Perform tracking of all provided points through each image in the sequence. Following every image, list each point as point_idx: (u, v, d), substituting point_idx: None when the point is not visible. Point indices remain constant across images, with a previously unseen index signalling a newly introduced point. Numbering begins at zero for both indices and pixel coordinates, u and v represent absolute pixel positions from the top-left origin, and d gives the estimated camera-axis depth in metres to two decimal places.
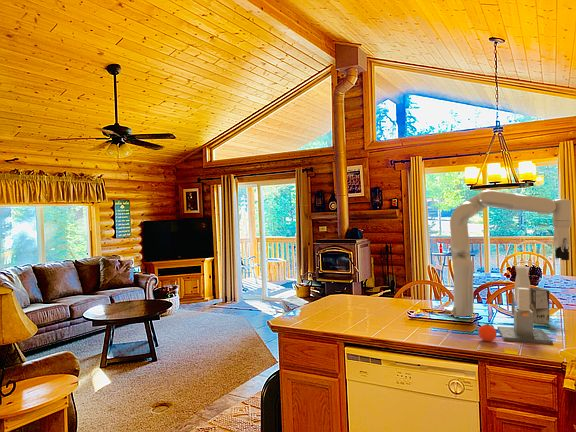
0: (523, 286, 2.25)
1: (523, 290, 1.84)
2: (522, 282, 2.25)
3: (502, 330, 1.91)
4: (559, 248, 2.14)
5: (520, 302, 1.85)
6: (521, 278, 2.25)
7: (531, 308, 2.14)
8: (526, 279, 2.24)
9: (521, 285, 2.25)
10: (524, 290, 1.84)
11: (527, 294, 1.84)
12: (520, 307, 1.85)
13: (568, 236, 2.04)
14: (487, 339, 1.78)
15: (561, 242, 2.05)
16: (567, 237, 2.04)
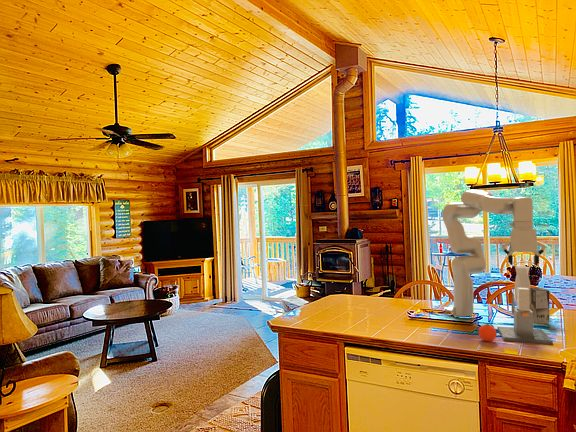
0: (523, 286, 2.25)
1: (523, 290, 1.84)
2: (522, 282, 2.25)
3: (502, 330, 1.91)
4: None
5: (520, 302, 1.85)
6: (521, 278, 2.25)
7: (531, 308, 2.14)
8: (526, 279, 2.24)
9: (521, 285, 2.25)
10: (524, 290, 1.84)
11: (527, 294, 1.84)
12: (520, 307, 1.85)
13: None
14: (487, 339, 1.78)
15: None
16: None
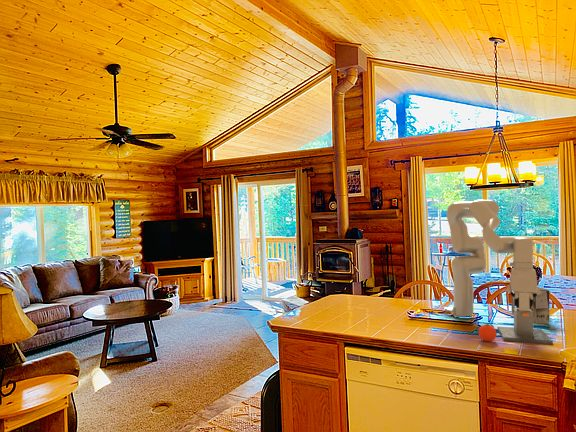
0: None
1: None
2: None
3: (502, 330, 1.91)
4: None
5: (520, 302, 1.85)
6: None
7: (531, 308, 2.14)
8: None
9: None
10: None
11: (527, 294, 1.84)
12: (520, 307, 1.85)
13: None
14: (487, 339, 1.78)
15: (537, 286, 1.83)
16: None
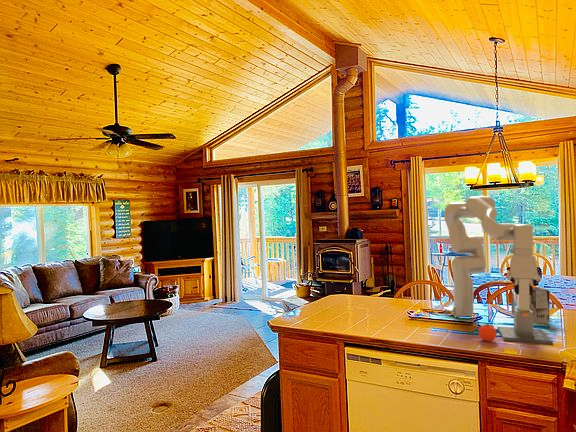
0: None
1: None
2: None
3: (502, 330, 1.91)
4: None
5: (520, 288, 1.85)
6: None
7: (531, 308, 2.14)
8: None
9: None
10: None
11: (527, 280, 1.84)
12: (520, 293, 1.85)
13: None
14: (487, 339, 1.78)
15: (537, 273, 1.83)
16: None
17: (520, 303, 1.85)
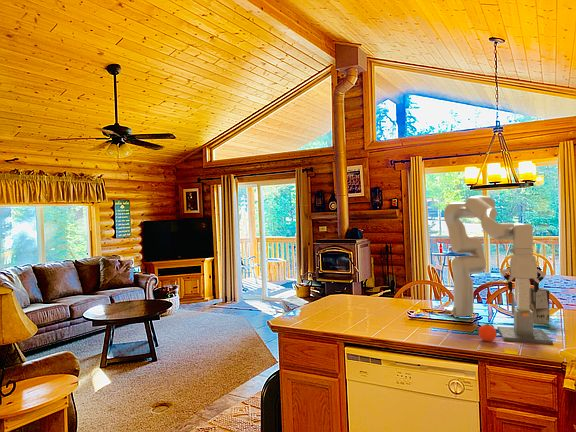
0: None
1: None
2: None
3: (502, 330, 1.91)
4: None
5: (520, 288, 1.85)
6: None
7: (531, 308, 2.14)
8: None
9: None
10: None
11: (527, 280, 1.84)
12: (520, 293, 1.85)
13: None
14: (487, 339, 1.78)
15: None
16: None
17: (520, 303, 1.85)
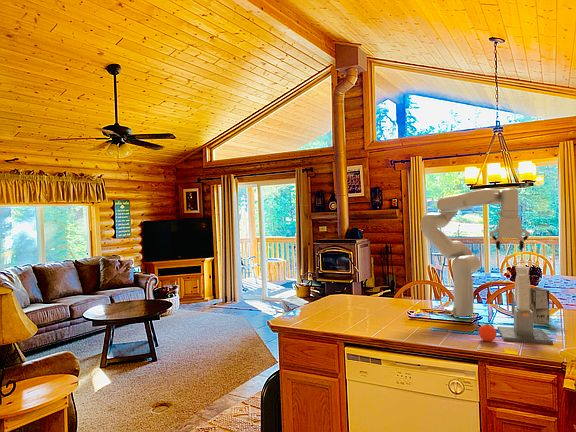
0: None
1: (523, 276, 1.84)
2: None
3: (502, 330, 1.91)
4: None
5: (520, 288, 1.85)
6: None
7: (531, 308, 2.14)
8: None
9: None
10: (524, 276, 1.84)
11: (527, 280, 1.84)
12: (520, 293, 1.85)
13: None
14: (487, 339, 1.78)
15: None
16: None
17: (520, 303, 1.85)
